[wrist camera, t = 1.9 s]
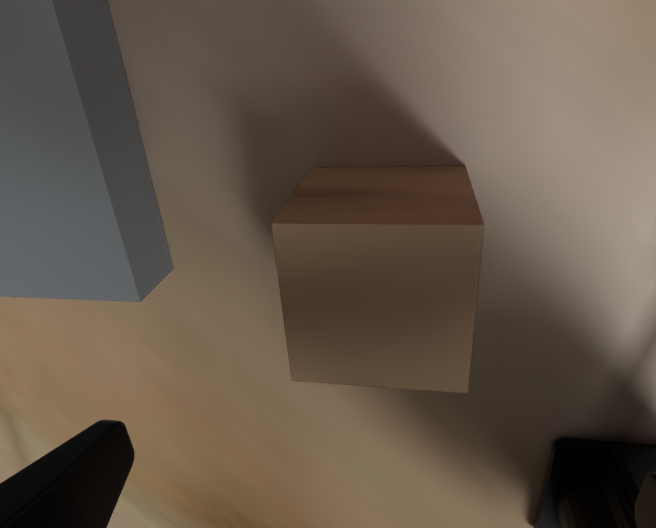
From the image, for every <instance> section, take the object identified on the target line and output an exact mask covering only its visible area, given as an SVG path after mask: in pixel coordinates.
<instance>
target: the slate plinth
mask: <svg viewBox="0 0 656 528" xmlns="http://www.w3.org/2000/svg"><path fill="white" fill-rule="evenodd" d="M172 270H173V265H172V261H171V257H170V253H169V249H168V245H167V241H166V237H165V233H164V229H163V225H162V221H161V217H160V212H159V208H158V204H157V200H156V196H155V192H154V188H153V184H152V180H151V176H150V172H149V168H148V164H147V160H146V155H145V151H144V147H143V143H142V139H141V135H140V131H139V127H138V123H137V119H136V115H135V111H134V107H133V103H132V99H131V94H130V90H129V86H128V82H127V78H126V74H125V70H124V66H123V62H122V58H121V54H120V50H119V46H118V42H117V37H116V33H115V29H114V25H113V21H112V17H111V13H110V9H109V5H108V1H107V0H0V296H4V297H29V298H54V299H79V300H104V301H129V302H141V301H142V300H143V299H144V298H145V297H146V296H147V295H148V294H149V293H150V292H151V291H152V290H153V289H154V288H155V287H156V286H157V285H158V284H159V283H160V282H161V281H162V280H163V279H164V278H165V277H166V276H167V275H168V274H169V273H170V272H171V271H172Z"/></svg>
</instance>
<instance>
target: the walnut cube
mask: <svg viewBox="0 0 656 528" xmlns="http://www.w3.org/2000/svg"><path fill="white" fill-rule="evenodd" d="M271 227H272V234H273V242H274V250H275V257H276V265H277V272H278V280H279V288H280V295H281V303H282V311H283V318H284V326H285V334H286V341H287V349H288V356H289V364H290V372H291V379H292V381H299V382H314V383H328V384H342V385H356V386H370V387H384V388H398V389H412V390H426V391H440V392H455V393H468V386H469V376H470V366H471V355H472V345H473V335H474V324H475V314H476V304H477V294H478V283H479V273H480V263H481V253H482V242H483V232H484V223H483V220H482V217H481V214H480V210H479V207H478V204H477V201H476V198H475V195H474V192H473V188H472V185H471V182H470V179H469V176H468V173H467V170H466V166H465V165H449V166H391V167H332V168H311V170H310V171H309V172H308V174H307V175H306V177H305V178H304V179H303V181H302V182H301V183H300V185H299V186H298V188H297V189H296V190H295V192H294V193H293V194H292V196H291V197H290V199H289V200H288V201H287V203H286V204H285V205H284V207H283V208H282V209H281V211H280V212H279V214H278V215H277V216H276V218H275V219H274V220H273V222H272V223H271Z"/></svg>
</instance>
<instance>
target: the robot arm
mask: <svg viewBox="0 0 656 528" xmlns="http://www.w3.org/2000/svg"><path fill="white" fill-rule="evenodd" d="M565 450H568V451H565ZM133 461H134V449H133V446H132V443H131V440H130V437H129V435H128V432H127V429H126V426H125V424H124V423H122V422H121V421H115V420H100V421H98V422H96V423H95V424H93V425H92V426H90V427H88V428H87V429H85V430H84V431H82V432H81V433H79V434H77V435H76V436H74V437H73V438H71V439H70V440H68V441H66V442H65V443H63V444H62V445H60V446H59V447H57V448H55V449H54V450H52V451H51V452H49V453H48V454H46V455H44V456H43V457H41V458H40V459H38V460H37V461H35V462H33V463H32V464H30V465H29V466H27V467H26V468H24V469H22V470H21V471H19V472H18V473H16V474H15V475H13V476H11V477H10V478H8V479H7V480H5V481H4V482H2V483H1V484H0V528H106V527H107V525H108V523H109V520H110V518H111V515H112V513H113V511H114V508H115V506H116V503H117V501H118V499H119V496H120V494H121V491H122V489H123V487H124V484H125V482H126V479H127V477H128V475H129V472H130V470H131V467H132V465H133ZM534 528H656V445H646V444H634V443H622V442H610V441H598V440H586V439H574V438H561V439H558V440H556V441H555V442H554V443H553V445H552V449H551V453H550V458H549V462H548V467H547V471H546V476H545V480H544V485H543V489H542V494H541V498H540V503H539V508H538V512H537V517H536V521H535V526H534Z"/></svg>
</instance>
